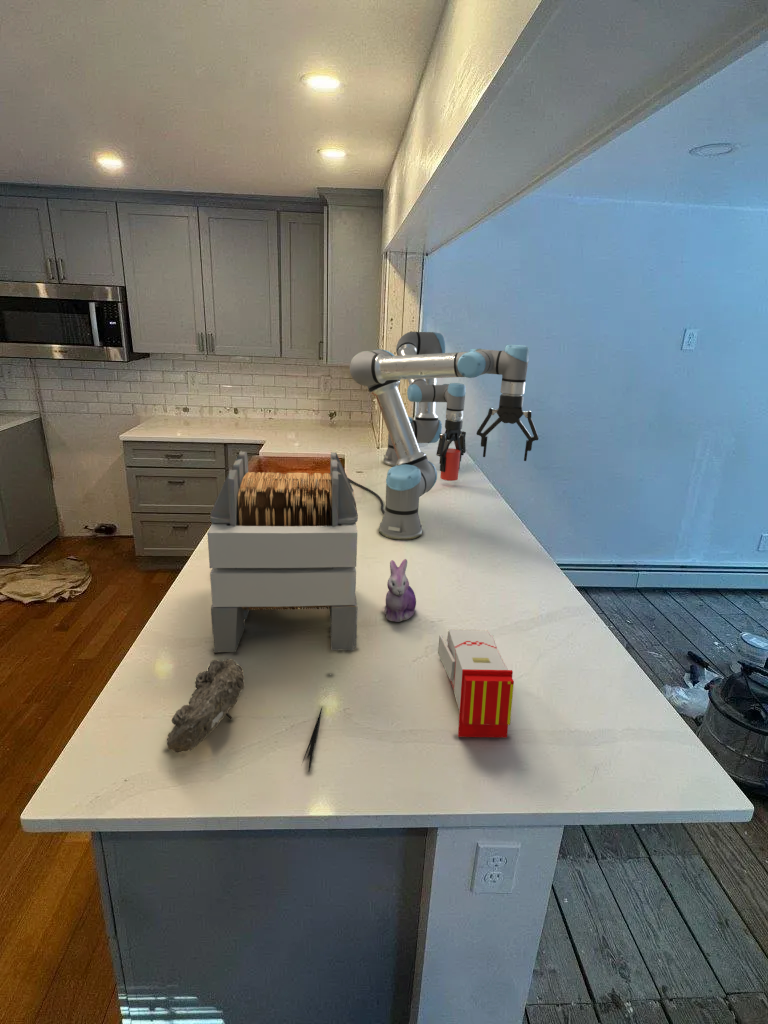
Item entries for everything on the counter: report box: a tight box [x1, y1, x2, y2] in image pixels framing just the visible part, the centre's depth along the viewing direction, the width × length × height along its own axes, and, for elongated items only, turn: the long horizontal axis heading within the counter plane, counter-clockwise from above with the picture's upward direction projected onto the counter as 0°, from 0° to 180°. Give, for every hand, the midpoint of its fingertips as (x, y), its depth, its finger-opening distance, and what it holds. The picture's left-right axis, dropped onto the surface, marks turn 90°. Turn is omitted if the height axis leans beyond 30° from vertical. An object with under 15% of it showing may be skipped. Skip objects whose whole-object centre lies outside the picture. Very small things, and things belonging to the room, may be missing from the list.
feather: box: [301, 673, 332, 771], centre depth 108 cm, size 2×28×2 cm
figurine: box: [384, 558, 417, 623], centre depth 145 cm, size 9×10×15 cm
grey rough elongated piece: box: [166, 658, 245, 754], centre depth 106 cm, size 22×10×15 cm
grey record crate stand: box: [206, 450, 359, 654], centre depth 137 cm, size 34×33×41 cm
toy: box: [437, 628, 515, 738], centre depth 117 cm, size 12×13×30 cm
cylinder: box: [439, 447, 461, 482], centre depth 254 cm, size 8×8×13 cm
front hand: (504, 458), depth 191 cm, fingers open, 13 cm apart
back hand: (449, 469), depth 255 cm, fingers closed on cylinder, 8 cm apart
